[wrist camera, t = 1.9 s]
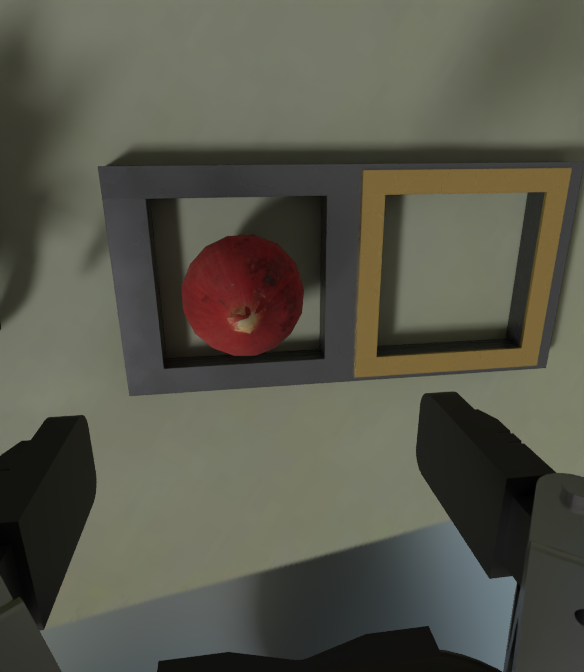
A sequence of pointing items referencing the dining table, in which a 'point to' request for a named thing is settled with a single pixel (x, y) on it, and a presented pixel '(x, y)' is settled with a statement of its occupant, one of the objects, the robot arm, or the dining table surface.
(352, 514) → the dining table surface
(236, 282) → the onion
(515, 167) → the grey yellow flat frame
